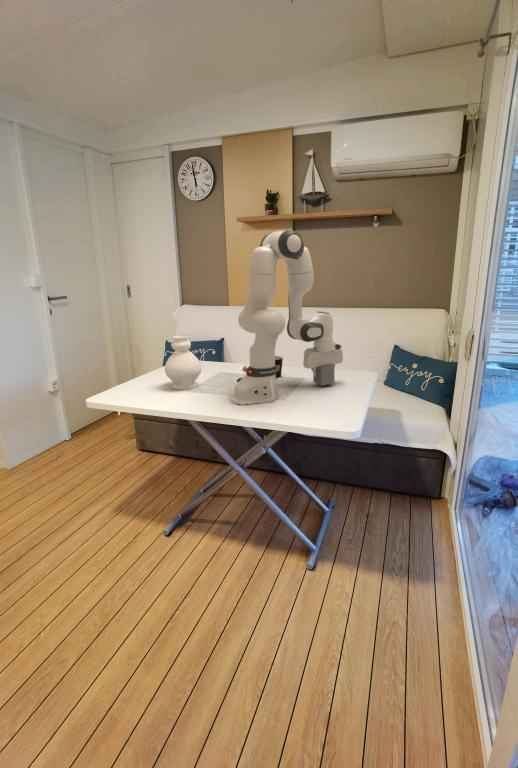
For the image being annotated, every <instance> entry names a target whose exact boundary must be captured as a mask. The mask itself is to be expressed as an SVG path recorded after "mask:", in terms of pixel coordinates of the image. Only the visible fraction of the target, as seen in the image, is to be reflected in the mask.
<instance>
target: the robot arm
mask: <svg viewBox="0 0 518 768" xmlns="http://www.w3.org/2000/svg"><path fill="white" fill-rule="evenodd" d="M311 256H312V255H311V254H310V250H309V248H308V247H306V246H305V245H304V241H303V239H302V235H301V234H299V232H298V231H295V230H291V229H287V230H276V231H274V232H270V233H267V234H266V235H264V236H263V238H262V239H261V241H260V244H259V246H258V247H255V248H254V249H253V251H252V253H251V257H250V263H249V275H248V280H249V281H248V294H247V299H246V301H245V303H244V304H245V305H244V307H243V309H242V310H241V311H240V313H238V317H237V319H238V325H239V327H240V328H241V329H243V330H244V331H246V332H248V333H250V334H254V335H255V336H254V337H255V338H254V342H253V344H252V345H251V346H250V348H249V351H248V352H249V366H248V367H246V366H243V367H242V371H243V372H245V374H246V375H244V376H243V378H241V379H240V380H239V381H238V382H236V384H235V385H234V390H233V393H232V394H230V395H228V398H229V401H230V400H231V401H232V402H231V401H230V402H231V403H233V402H234V403H233V404H235V403H236V404H235V405H237V404H240V405H239V406H246V405H245V404H250V405H256V404H255V403H259V404H264V403H265V404H266V403H274V402H275V401H276V400H277V399H278V398H279V397H280V392H279V389H278V388H279V387H278V384H277V383H278V382H277V378H276V365H275V356H276V345H277V341H278V338H279V337H280V335H281V334H282V333H283V332H284V330H285V328H286V333H287V335H288V337H290V338H291V339H292V340H297V341H303V342H305V343H306V342H307V343H310V342H313V347H310V348H308V347H307V348H306V349H305V350H304V352H303V362H302V363H303V367H304V368H305V369H311V371H312V377H313V376H318V372H316V371H315V370H316V367H319V366H325V365H331V364H332V365H334V369H335V367H336V365H337V364H342V363H343V361H344V352H343V345H342V344H340V343H339V342H335V341H334V338H333V333H334V332H333V331H334V322H333V321H334V320H333V315H332V314H331V313H330V312H326V311H315V312H314V314H313V315H312V316H310V317H309V318H304V317H303V316H304V315H303V298H304V296H305V294H308V292H309V291H310V290H312V288H313V286H314V280H315V279H314V278H315V275H314V267H313V261H312V257H311ZM279 259H280V260H282V259H283V260H284V261H285V263H286V267H287V269H286V270H287V279H288V297H287V300H288V301H287V302H288V319H287V324H286V318H285V316H284V315H283V313H281V312H279V311H277V310H275V309H270V308H269V309H268V307H269V303H270V301H271V300H272V298H273V297H275V295H276V282H277V281H276V280H277V279H276V278H277V277H276V275H277V264H278V261H279Z"/></svg>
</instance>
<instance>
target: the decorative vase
mask: <svg viewBox="0 0 518 768" xmlns="http://www.w3.org/2000/svg"><path fill="white" fill-rule="evenodd" d="M188 338H189V335H187V334H181V335H173V336H172V339H173V341H172V342H171V344H170V346H171V348H172V350H174V351H173V352H172V354H171V355H170V356H169V357H168V359H167V360H166V362H165V365H164V372H165V375H166V376H167V378H169V379H170V381H172V383H173V384H172V386H171V388H172V387H173V388H174V389H173V388H172V389H173V390H177V389H186V390H192V389H194V388H196V387H198V385H199V384H198V383H197V382H196V380H198V377H199V376H200V374H201V373H202V370H203V369H202V367H203V366H202V362H201V361H200V360H199V358H198V357H197V356H196V355H195V354H194V353H193V352H192V351H190V350H189V349H190V347H191V346H192V342H191V341H190V340H189V339H188Z"/></svg>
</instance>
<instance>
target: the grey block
mask: <svg viewBox="0 0 518 768" xmlns="http://www.w3.org/2000/svg"><path fill="white" fill-rule="evenodd" d="M315 371H316V372H318V376H313V375H312V379H313V381H312V382H313V383H314V384H317V385H319V386H327V385H331V384H332V385H333V384H335V368H334V365H332V364H331V365H325V366H319V367H316V370H315Z"/></svg>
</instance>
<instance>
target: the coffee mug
mask: <svg viewBox="0 0 518 768" xmlns="http://www.w3.org/2000/svg"><path fill="white" fill-rule="evenodd" d="M283 359H284V358H283V356H279V355H275V365H276V379H278V377H279V378H281V377H282V369H283V361H284V360H283Z"/></svg>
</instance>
